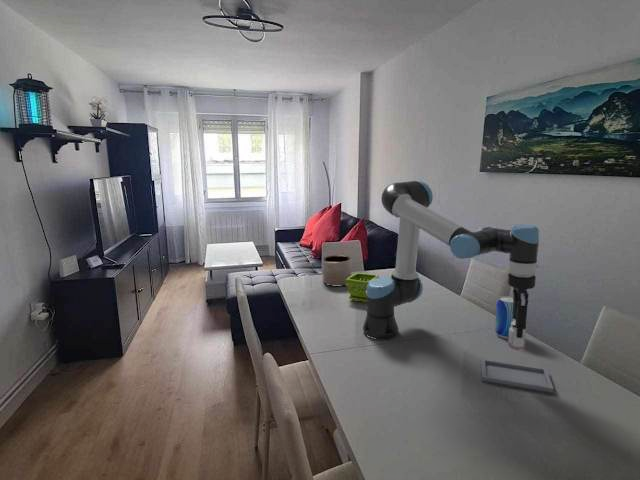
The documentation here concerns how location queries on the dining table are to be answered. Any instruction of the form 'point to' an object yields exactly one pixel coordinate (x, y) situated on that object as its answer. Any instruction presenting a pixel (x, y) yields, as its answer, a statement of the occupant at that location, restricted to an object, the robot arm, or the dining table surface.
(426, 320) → the dining table surface
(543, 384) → the rest tray
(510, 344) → the pill bottle
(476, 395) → the dining table surface
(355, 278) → the flower pot
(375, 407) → the dining table surface
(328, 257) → the planter
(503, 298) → the beer can
